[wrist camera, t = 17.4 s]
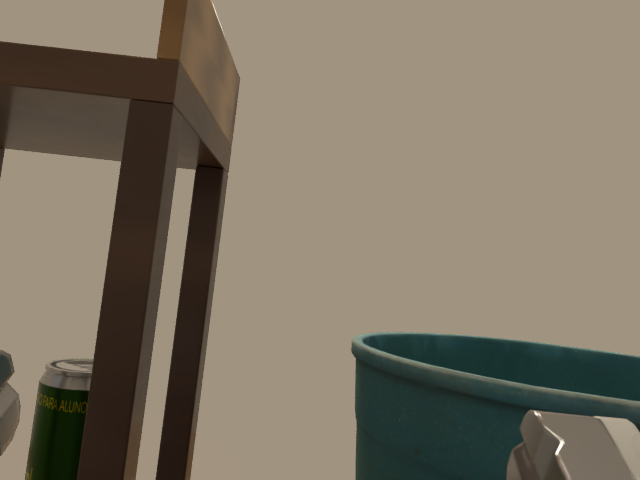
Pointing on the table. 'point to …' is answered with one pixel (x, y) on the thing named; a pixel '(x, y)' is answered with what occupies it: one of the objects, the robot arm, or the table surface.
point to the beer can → (59, 420)
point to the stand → (138, 209)
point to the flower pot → (472, 399)
